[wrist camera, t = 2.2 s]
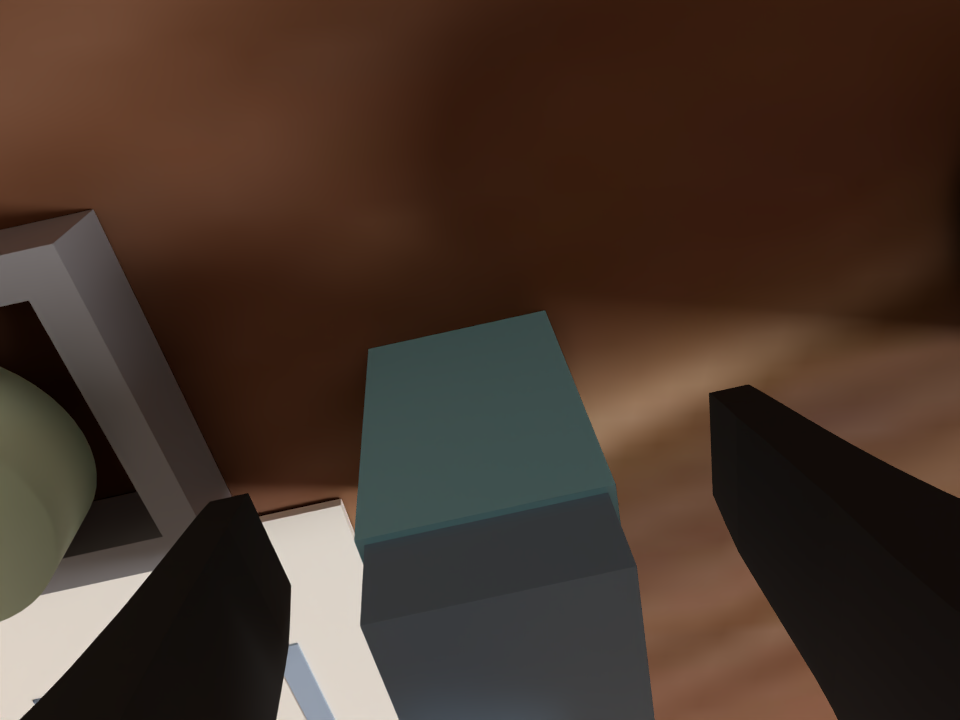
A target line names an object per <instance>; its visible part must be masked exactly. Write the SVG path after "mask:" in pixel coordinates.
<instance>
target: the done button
mask: <svg viewBox="0 0 960 720" xmlns="http://www.w3.org/2000/svg"><path fill="white" fill-rule="evenodd" d="M96 487H97V472H96V465H95V460H94V457H93V454H92V451H91V448H90V446H89V444H88V442H87V440H86V438H85V436H84V434H83V432H82V431H81V429H80V428H79V427H78V425H77V424H76V422H75V421H74V420H73V419H72V417H71V416H70V415H69V414H68V413H67V412H66V411H65V409H64V408H63V407H61V406H60V405H59V404H58V403H57V402H56V401H55V400H54V399H53V398H52V397H50V396H49V395H48V394H46V393H45V392H44V391H42V390H41V389H40V388H38V387H37V386H36V385H34V384H32V383H31V382H29V381H27V380H26V379H24V378H22V377H20V376H19V375H17V374H15V373H12V372H10V371H8V370H6V369H4V368H2V367H0V622H1V621H3V620H6V619H8V618H10V617H12V616H14V615H16V614H17V613H19V612H21V611H23V610H24V609H25V608H27V607H28V606H29V605H31V604H32V603H33V602H34V601H35V600H36V599H37V598H38V597H39V596H40V595H41V594H42V592H43V591H44V589H45V588H46V586H47V585H48V583H49V582H50V580H51V578H52V576H53V575H54V573H55V571H56V569H57V567H58V565H59V564H60V562H61V560H62V558H63V556H64V555H65V553H66V551H67V549H68V547H69V546H70V544H71V542H72V540H73V538H74V536H75V535H76V533H77V531H78V529H79V527H80V526H81V524H82V522H83V520H84V518H85V516H86V515H87V513H88V511H89V509H90V507H91V504H92V502H93V500H94V496H95V491H96Z"/></svg>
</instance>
